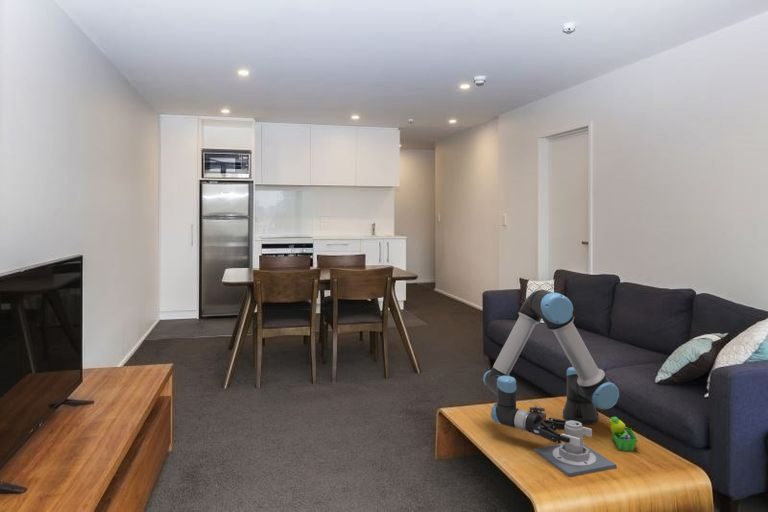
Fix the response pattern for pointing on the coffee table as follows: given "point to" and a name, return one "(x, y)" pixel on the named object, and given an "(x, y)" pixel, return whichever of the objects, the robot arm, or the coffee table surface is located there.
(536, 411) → the brown piece
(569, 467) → the board
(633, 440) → the fruit basket
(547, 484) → the coffee table surface
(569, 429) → the beverage can
